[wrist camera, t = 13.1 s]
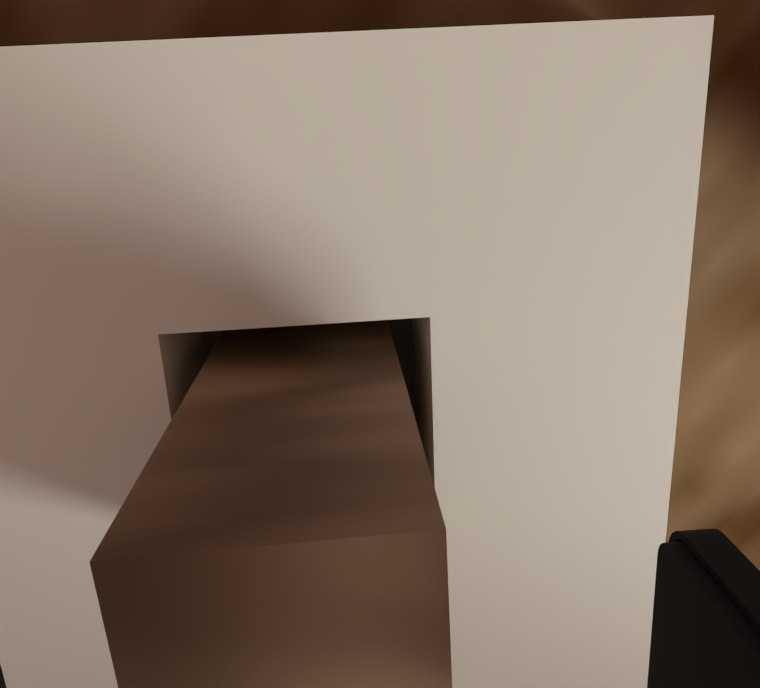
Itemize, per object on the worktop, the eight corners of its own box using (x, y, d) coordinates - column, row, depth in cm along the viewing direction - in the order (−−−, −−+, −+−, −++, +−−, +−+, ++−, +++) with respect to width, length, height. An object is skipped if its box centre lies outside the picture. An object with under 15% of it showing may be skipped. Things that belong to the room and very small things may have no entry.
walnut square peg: (384, 309, 17) (446, 529, 8) (393, 450, 18) (455, 792, 9) (227, 321, 17) (89, 562, 7) (247, 462, 18) (149, 825, 9)
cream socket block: (623, 44, 16) (714, 15, 12) (592, 605, 21) (649, 712, 17) (-69, 75, 15) (-205, 55, 11) (65, 650, 20) (2, 772, 16)
